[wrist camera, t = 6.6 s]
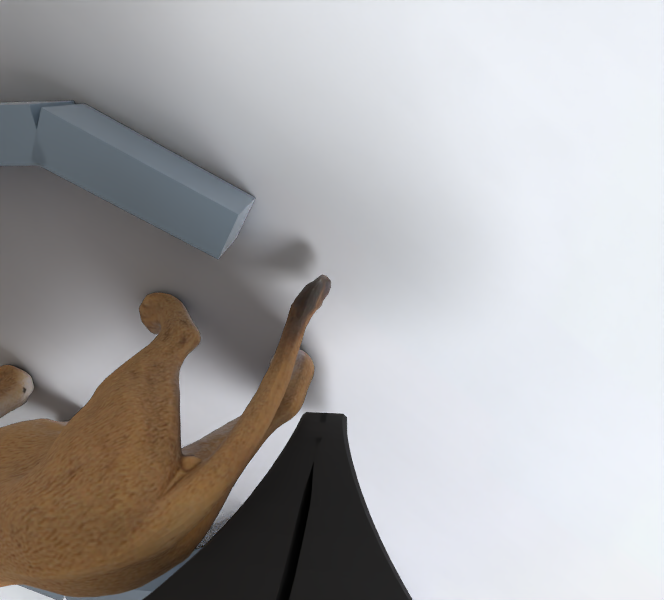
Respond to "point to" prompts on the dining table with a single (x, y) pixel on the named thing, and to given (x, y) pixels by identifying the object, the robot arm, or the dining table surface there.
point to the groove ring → (124, 192)
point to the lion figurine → (133, 462)
